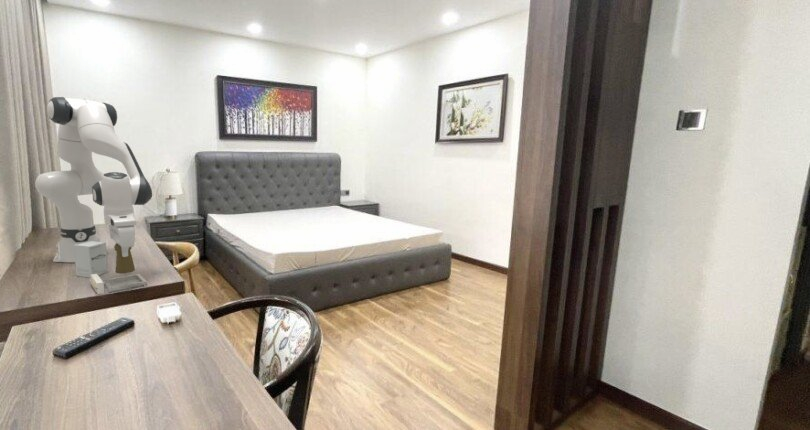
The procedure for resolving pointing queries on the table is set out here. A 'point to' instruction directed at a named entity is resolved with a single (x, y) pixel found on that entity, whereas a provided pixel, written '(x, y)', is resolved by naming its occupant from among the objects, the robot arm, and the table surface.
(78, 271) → the supplement box
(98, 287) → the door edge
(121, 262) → the cork
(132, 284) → the grey square tray
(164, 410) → the table surface
